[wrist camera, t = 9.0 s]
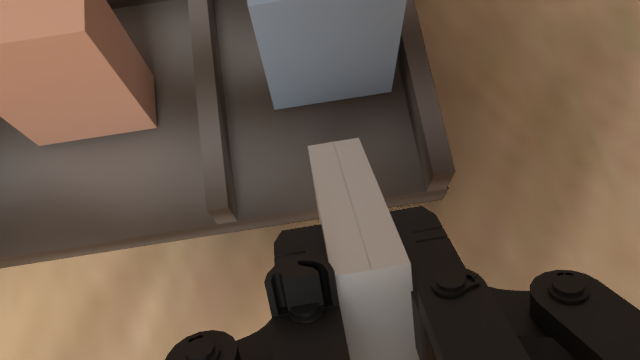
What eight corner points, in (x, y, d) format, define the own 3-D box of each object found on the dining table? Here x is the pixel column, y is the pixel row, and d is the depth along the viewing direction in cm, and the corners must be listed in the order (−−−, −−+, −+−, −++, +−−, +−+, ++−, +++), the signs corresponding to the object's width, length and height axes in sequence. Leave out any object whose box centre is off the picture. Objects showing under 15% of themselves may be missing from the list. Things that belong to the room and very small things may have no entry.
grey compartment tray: (442, 199, 25) (457, 171, 21) (-212, 301, 24) (-300, 289, 21) (389, -30, 29) (395, -83, 25) (-176, 55, 28) (-244, 12, 25)
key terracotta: (157, 127, 24) (84, 31, 18) (39, 145, 24) (-80, 55, 18) (153, 75, 25) (83, -37, 18) (39, 93, 25) (-74, -13, 18)
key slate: (391, 91, 24) (410, -19, 18) (274, 109, 24) (247, 6, 18) (380, 41, 25) (394, -83, 18) (267, 58, 25) (239, -60, 18)
